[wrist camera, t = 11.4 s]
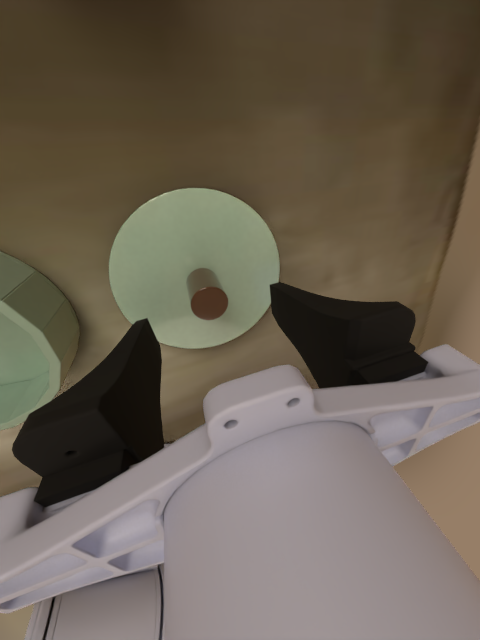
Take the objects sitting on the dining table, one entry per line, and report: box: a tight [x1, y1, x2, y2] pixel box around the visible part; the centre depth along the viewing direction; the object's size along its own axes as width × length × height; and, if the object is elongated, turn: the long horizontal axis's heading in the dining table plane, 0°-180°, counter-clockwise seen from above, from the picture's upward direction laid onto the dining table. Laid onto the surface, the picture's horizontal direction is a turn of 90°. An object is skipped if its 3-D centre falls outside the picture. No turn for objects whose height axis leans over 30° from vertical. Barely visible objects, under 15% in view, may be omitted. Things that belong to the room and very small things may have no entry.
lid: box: [109, 187, 280, 349], centre depth 17 cm, size 12×12×4 cm
